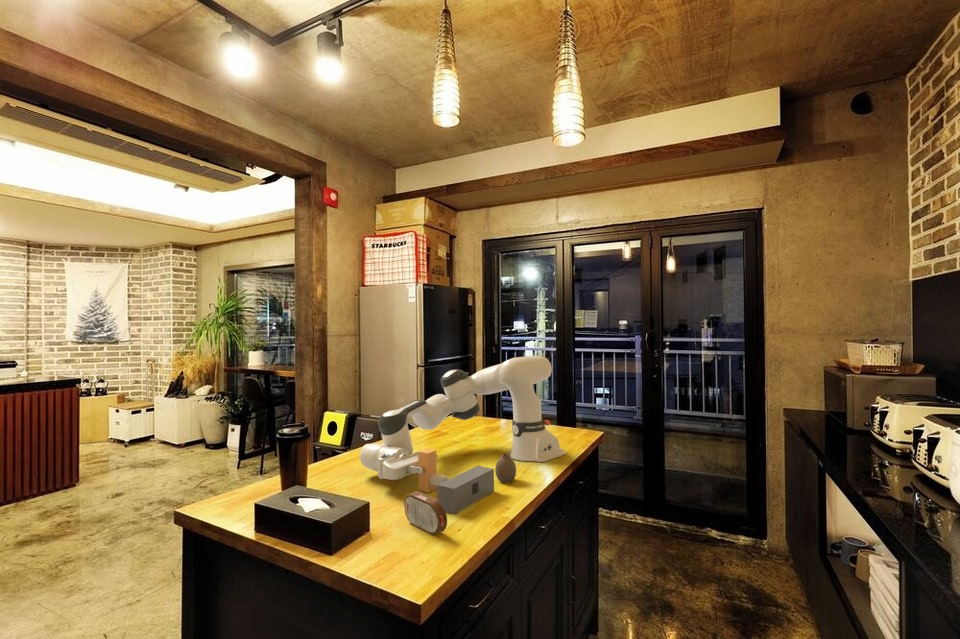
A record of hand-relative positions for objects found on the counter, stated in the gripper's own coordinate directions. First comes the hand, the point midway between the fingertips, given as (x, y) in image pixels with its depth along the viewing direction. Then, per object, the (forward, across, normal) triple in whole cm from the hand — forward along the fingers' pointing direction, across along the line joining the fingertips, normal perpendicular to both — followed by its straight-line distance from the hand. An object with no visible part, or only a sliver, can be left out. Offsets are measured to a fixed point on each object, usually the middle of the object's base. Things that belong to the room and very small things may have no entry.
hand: (429, 468), depth 140 cm
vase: (+16, -20, -7) cm, 27 cm away
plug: (+2, 0, -7) cm, 7 cm away
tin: (+16, +21, -7) cm, 27 cm away
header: (+15, 0, -7) cm, 16 cm away
